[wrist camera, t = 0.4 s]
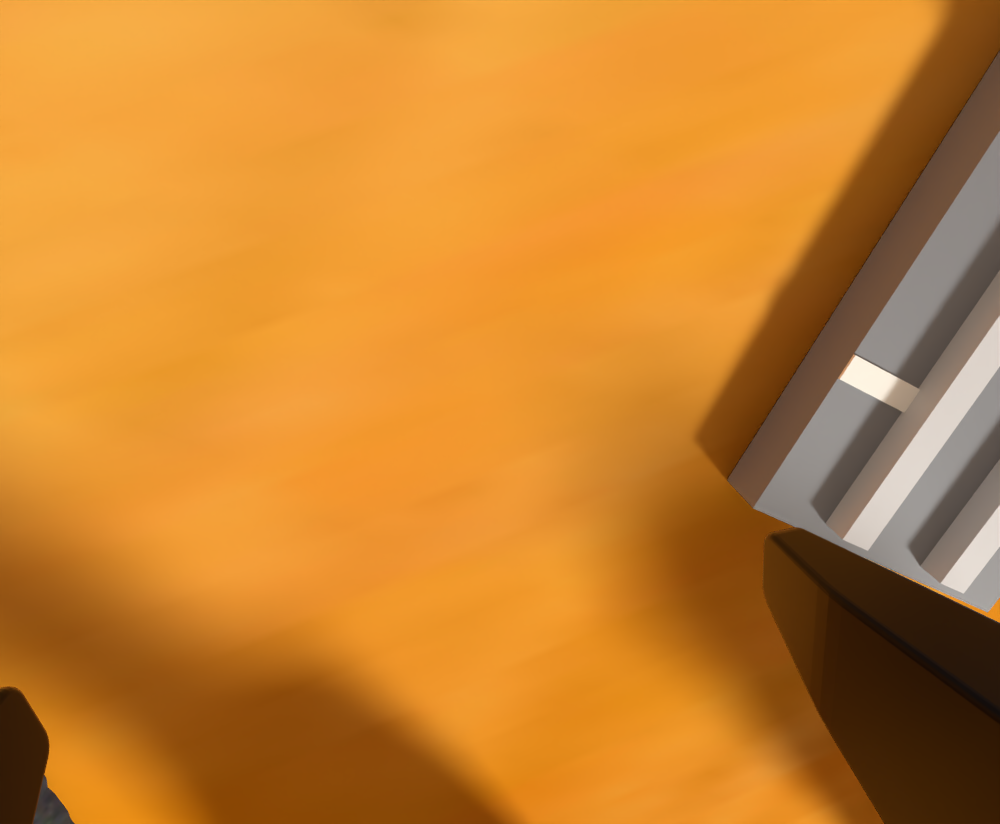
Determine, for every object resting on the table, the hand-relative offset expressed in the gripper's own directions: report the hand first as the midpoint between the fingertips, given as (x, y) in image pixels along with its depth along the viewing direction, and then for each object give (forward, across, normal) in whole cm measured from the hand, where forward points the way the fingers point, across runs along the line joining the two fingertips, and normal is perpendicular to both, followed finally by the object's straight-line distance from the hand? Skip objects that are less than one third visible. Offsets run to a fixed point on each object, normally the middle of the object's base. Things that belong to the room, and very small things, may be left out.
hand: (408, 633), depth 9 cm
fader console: (+14, -19, +4) cm, 23 cm away
